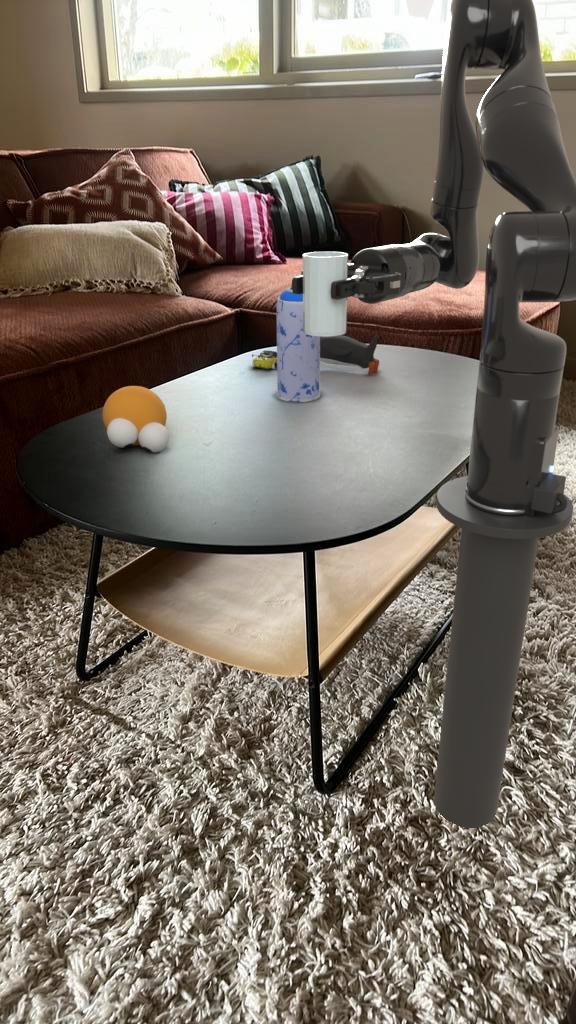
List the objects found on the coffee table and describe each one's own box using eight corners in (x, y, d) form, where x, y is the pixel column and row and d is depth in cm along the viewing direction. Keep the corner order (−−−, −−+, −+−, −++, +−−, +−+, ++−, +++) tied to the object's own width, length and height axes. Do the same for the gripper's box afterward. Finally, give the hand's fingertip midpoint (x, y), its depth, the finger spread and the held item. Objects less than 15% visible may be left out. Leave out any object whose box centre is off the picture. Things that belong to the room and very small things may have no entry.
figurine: (379, 381, 153) (313, 359, 158) (390, 332, 148) (322, 311, 153) (364, 390, 147) (296, 367, 152) (375, 340, 142) (304, 318, 147)
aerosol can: (294, 386, 141) (293, 274, 132) (329, 393, 137) (331, 278, 128) (267, 396, 135) (265, 280, 127) (303, 404, 131) (303, 285, 122)
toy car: (292, 359, 158) (292, 345, 157) (271, 371, 150) (271, 356, 149) (270, 357, 160) (270, 343, 159) (248, 369, 152) (248, 354, 151)
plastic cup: (353, 330, 104) (355, 253, 99) (332, 338, 99) (333, 258, 95) (317, 325, 106) (317, 250, 102) (295, 333, 102) (294, 255, 98)
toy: (94, 448, 120) (109, 452, 106) (95, 386, 119) (109, 382, 105) (153, 449, 124) (175, 453, 110) (154, 389, 122) (176, 385, 109)
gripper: (347, 242, 113) (271, 254, 101) (431, 249, 104) (359, 262, 93) (346, 294, 116) (272, 311, 104) (427, 305, 107) (357, 324, 96)
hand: (313, 288), depth 99 cm, fingers closed on plastic cup, 6 cm apart
